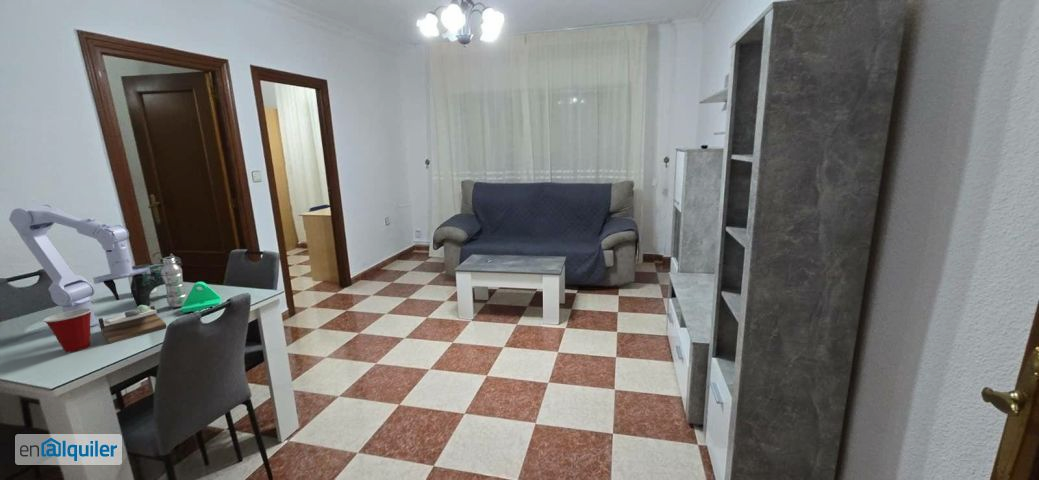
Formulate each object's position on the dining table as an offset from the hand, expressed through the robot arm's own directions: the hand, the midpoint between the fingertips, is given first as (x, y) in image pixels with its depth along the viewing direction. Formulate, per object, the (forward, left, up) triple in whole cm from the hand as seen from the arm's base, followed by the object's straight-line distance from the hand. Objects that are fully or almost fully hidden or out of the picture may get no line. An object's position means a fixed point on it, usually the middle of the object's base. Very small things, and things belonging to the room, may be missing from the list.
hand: (128, 297), depth 149 cm
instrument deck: (+5, -1, -6) cm, 8 cm away
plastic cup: (+9, -15, -11) cm, 21 cm away
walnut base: (+6, -1, -10) cm, 12 cm away
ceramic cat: (-24, +13, -11) cm, 29 cm away
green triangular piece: (+2, +20, -11) cm, 23 cm away
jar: (-41, +10, -11) cm, 44 cm away
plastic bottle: (-9, +15, -11) cm, 20 cm away
